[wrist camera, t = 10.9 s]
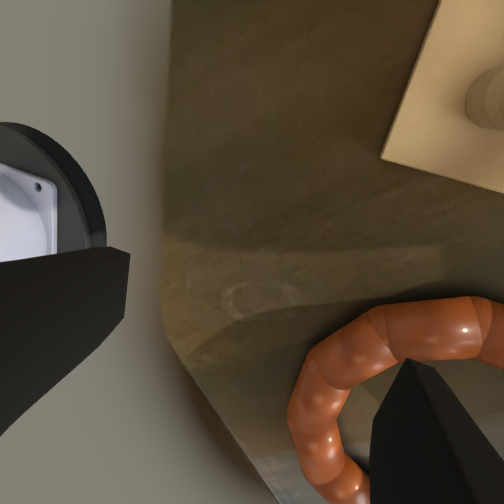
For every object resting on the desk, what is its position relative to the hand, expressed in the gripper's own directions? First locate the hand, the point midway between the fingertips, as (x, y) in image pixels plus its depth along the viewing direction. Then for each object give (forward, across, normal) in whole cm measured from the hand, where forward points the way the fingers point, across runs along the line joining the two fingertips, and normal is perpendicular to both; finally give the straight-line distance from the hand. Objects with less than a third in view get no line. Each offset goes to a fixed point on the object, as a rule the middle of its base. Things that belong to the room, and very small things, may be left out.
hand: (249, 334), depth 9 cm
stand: (+9, -5, -7) cm, 13 cm away
